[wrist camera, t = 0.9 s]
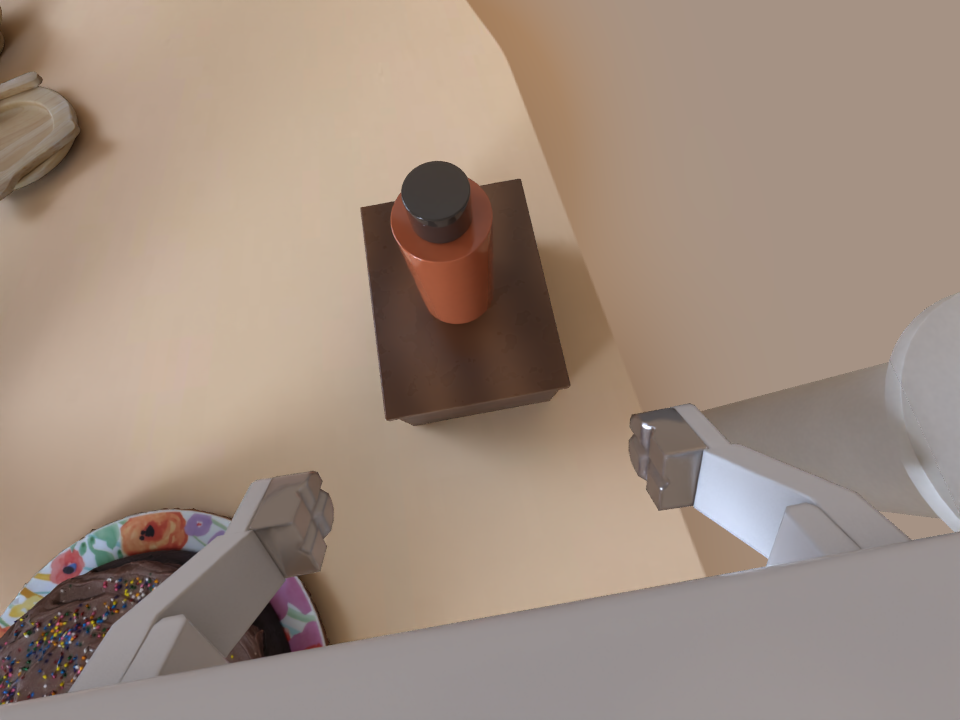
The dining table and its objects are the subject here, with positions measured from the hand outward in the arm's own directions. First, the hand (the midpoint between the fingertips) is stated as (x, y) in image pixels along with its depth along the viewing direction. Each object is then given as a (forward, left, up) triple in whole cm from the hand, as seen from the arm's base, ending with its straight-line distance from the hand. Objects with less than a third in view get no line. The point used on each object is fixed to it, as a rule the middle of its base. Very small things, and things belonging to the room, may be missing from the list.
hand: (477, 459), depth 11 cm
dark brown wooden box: (0, -12, -24) cm, 27 cm away
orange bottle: (0, -12, -16) cm, 20 cm away
